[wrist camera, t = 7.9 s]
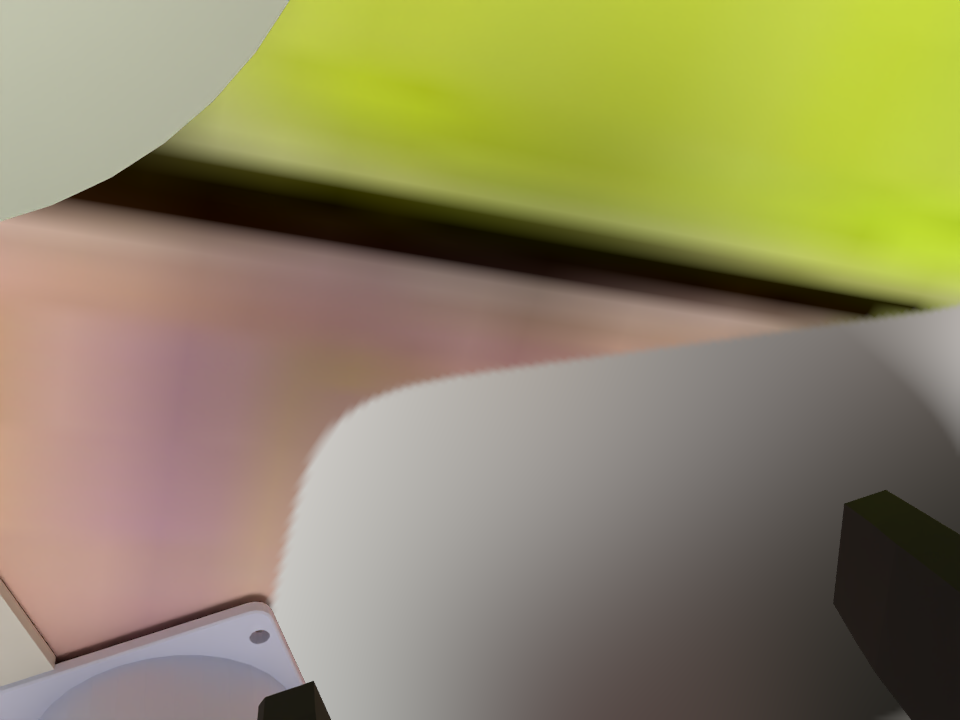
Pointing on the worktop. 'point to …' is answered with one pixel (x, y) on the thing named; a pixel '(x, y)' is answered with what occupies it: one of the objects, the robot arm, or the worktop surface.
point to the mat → (20, 643)
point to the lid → (109, 84)
